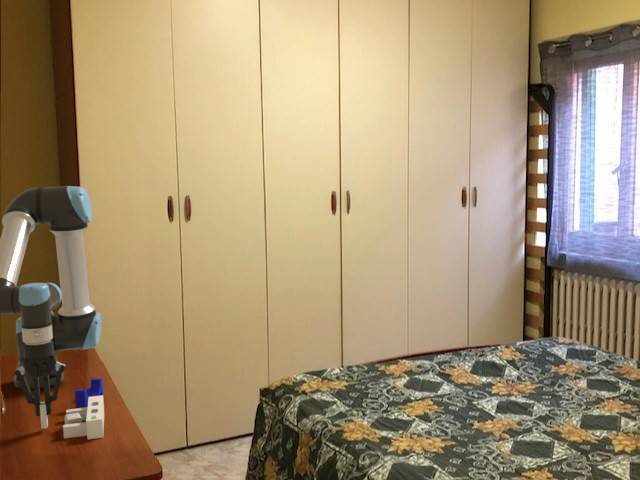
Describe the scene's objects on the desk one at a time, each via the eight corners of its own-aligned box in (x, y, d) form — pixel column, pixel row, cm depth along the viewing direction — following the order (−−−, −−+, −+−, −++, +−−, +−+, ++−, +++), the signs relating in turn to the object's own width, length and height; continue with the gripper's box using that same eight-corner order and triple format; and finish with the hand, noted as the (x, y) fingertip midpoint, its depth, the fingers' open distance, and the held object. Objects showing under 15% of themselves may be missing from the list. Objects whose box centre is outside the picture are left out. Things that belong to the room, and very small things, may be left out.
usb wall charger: (67, 434, 191) (66, 420, 190) (64, 426, 197) (63, 412, 197) (82, 431, 193) (81, 417, 192) (79, 423, 199) (78, 409, 198)
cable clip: (89, 397, 221) (88, 378, 220) (103, 397, 220) (102, 378, 220) (71, 410, 209) (69, 391, 208) (85, 411, 209) (84, 391, 208)
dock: (67, 416, 204) (66, 398, 204) (104, 411, 207) (103, 394, 206) (63, 442, 185) (61, 423, 184) (103, 437, 188) (102, 418, 187)
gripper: (9, 347, 185) (17, 435, 188) (63, 342, 189) (69, 428, 191) (13, 340, 192) (20, 425, 195) (64, 335, 196) (70, 418, 199)
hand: (44, 426), depth 193 cm, fingers closed
